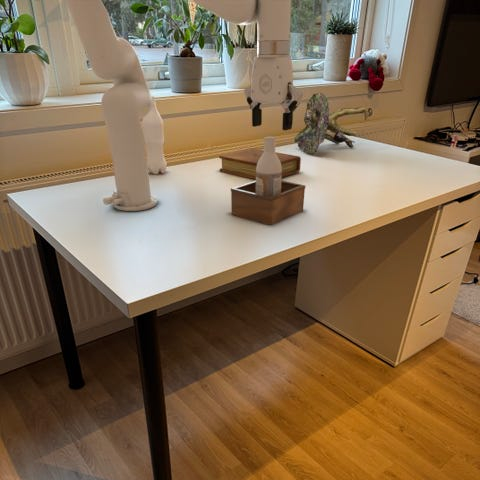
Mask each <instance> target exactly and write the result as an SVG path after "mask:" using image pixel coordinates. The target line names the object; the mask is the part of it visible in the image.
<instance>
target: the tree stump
mask: <svg viewBox="0 0 480 480" xmlns="http://www.w3.org/2000/svg"><path fill="white" fill-rule="evenodd" d="M329 104H330V103H329V101H328V97H326V95H325V94H324V93H322V92H317V93H313V94H312V96H310V98H309V100H308V101H307V102H306V110H305V113H304V117H303V122H304V125H305V127H304V128H303V129H302V130H301V131H299V133H297V134H296V135H295V136H294V143H295V144H297V148H298V149H300V150H302V151H303V152H304V153H306V154H308V155H310V154H313V153H315V152H316V153H317V151H318V149H320V148H319V146H320V144H323V143H324V142H325V140H327V141H328V142H329V141H330V142H332V143H333V144H335V145H339V144H342V143H345V144H346V146H347V147H348V148H350V149H353V148H354V145H353V143H354V144H355V143H356V141H354V140H352V139H350V138H349V137H350V136H351V137H352V136H354V137H355V136H356V135H357V131H354V130H351V129H348V128H346V127H344V126H341V125H340V124H339V123H337V120H338V118H340V117H344V116H349V115H358V114H364V113H365V111H367V108H366V107H362V106H361V107H354V108H351V107H343V108H339V109H337V110H335V111H332V112H331V113H330V107H329V106H330V105H329ZM328 131H330V132H331V133H332V134H333V133H334V135H331V134H329V133H328Z"/></svg>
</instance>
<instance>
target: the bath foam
mask: <svg viewBox="0 0 480 480" xmlns="http://www.w3.org/2000/svg"><path fill="white" fill-rule="evenodd" d="M263 139H264V140H263V150H264V153H263V154H262V156H261V157H260V159H259V161H258V163H257V167H256V179H255V181H256V194H260V195H264V196H268V197H272V196H274V195H277V194H280V193H281V180H282V178H283V177H282V166H281V162H280V160H279V158H278V156H277V154H276V153H275V152H276V140H277V139H276V136H269V135H267V136H265V137H264V138H263ZM282 181H283V180H282Z"/></svg>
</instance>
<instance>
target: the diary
mask: <svg viewBox="0 0 480 480" xmlns="http://www.w3.org/2000/svg"><path fill="white" fill-rule="evenodd" d="M263 153H264V149H259V148H252V147H251V148H247V149H242V150H237V151H234V152H230V153H225V154H220V155H218V159H221V168H219V172H221V173H225V174H230V175H233V176H238V177H242V178H247V179H251V180H256V167H257V163H258V161H259V159H260V157H261V156H262V154H263ZM275 153H276V154H277V156H278V158H279V160H280V162H281V166H282V178H286V177H289V176H292V175H294V174H295V175H296V174H298V173H300V171H301V161H302V158H301V156H300V155H299V156H298V155H293V154H287V153H283V152H277V151H275Z"/></svg>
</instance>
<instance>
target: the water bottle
mask: <svg viewBox="0 0 480 480" xmlns="http://www.w3.org/2000/svg"><path fill="white" fill-rule="evenodd" d="M151 99H152V106H151V110H150V112H149V113H148V115H147V116H145V117H144V118H142V123H141V126H142V130H143V134H144V140H145V147H146V152H147V165H148V173H149V174H153V175H159V173H161V174H165V173H166V171H167V165H168V163H167V160H166V158H165V154H164V143H165V131H164V120H163V118H162V116H161V115H160V112H159V111H158V108H157V102H156V97H155V96H152V95H151Z"/></svg>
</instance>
